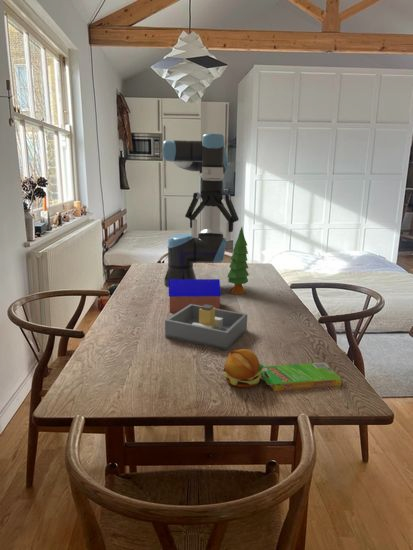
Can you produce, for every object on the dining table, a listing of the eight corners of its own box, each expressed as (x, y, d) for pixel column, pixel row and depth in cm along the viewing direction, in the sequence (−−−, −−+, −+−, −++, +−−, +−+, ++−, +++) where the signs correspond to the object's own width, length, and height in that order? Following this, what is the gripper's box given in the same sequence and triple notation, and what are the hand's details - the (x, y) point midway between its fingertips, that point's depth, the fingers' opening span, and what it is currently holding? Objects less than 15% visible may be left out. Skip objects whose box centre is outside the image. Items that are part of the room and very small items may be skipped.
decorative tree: (241, 296, 180) (244, 227, 172) (222, 293, 184) (224, 225, 176) (250, 291, 188) (254, 225, 180) (231, 287, 192) (234, 223, 184)
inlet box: (165, 337, 137) (165, 320, 136) (190, 319, 153) (190, 303, 151) (226, 350, 128) (227, 332, 127) (246, 330, 144) (247, 314, 142)
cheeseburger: (265, 373, 115) (266, 344, 110) (257, 401, 106) (258, 371, 101) (230, 366, 118) (229, 338, 113) (219, 393, 109) (218, 364, 104)
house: (168, 302, 171) (168, 275, 168) (217, 302, 173) (217, 275, 170) (168, 312, 160) (168, 283, 157) (220, 312, 161) (221, 283, 158)
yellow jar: (198, 331, 139) (199, 307, 137) (204, 327, 143) (204, 303, 140) (209, 334, 138) (210, 309, 135) (214, 329, 141) (215, 305, 139)
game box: (340, 389, 110) (266, 392, 106) (323, 371, 120) (255, 373, 116) (342, 378, 110) (268, 381, 106) (325, 362, 119) (256, 363, 115)
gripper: (176, 178, 149) (176, 237, 155) (241, 181, 139) (238, 244, 145) (186, 178, 156) (185, 234, 161) (249, 180, 145) (246, 240, 151)
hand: (210, 238), depth 153 cm, fingers open, 13 cm apart
